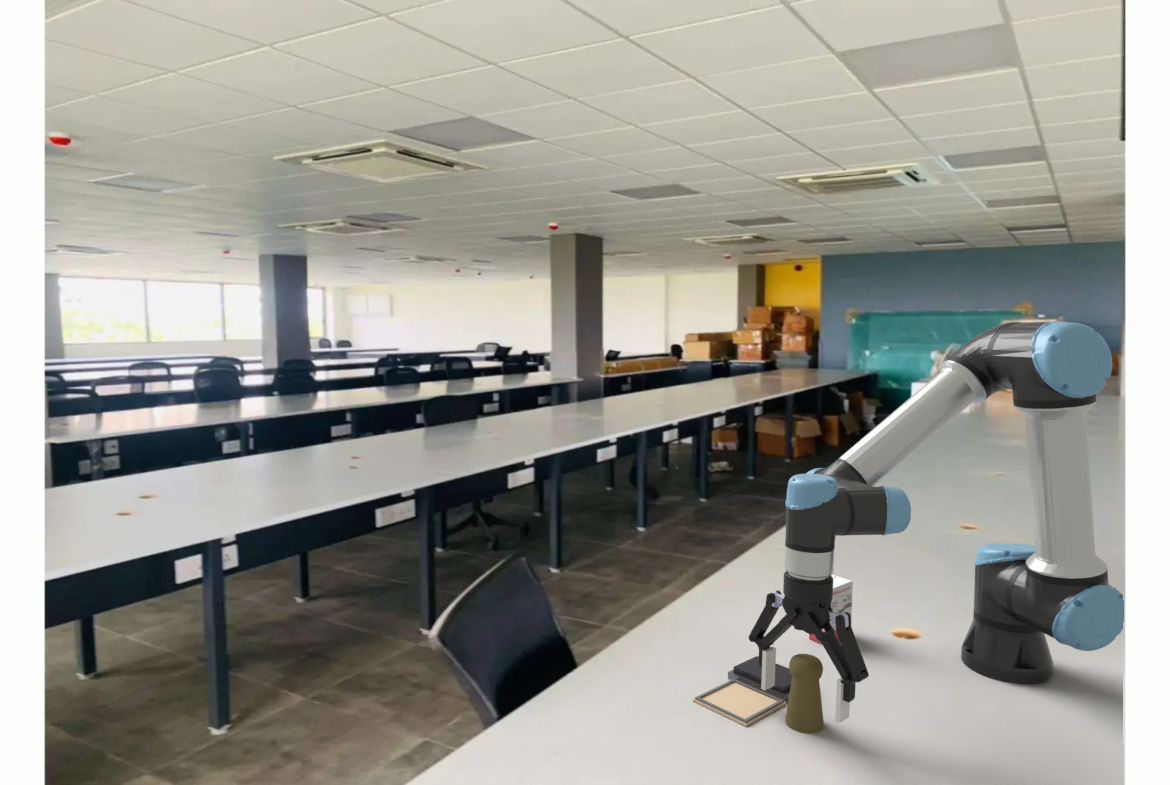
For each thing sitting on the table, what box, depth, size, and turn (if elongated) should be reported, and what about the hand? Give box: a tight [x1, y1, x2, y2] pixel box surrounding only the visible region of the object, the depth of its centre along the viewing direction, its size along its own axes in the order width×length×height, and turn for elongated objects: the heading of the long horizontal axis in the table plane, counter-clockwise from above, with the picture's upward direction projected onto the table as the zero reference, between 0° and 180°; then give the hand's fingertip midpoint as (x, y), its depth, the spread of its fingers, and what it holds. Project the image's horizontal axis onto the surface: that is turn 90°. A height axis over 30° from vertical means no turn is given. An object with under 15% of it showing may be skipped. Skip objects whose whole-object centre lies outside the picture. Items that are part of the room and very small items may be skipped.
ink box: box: [808, 574, 854, 644], centre depth 156 cm, size 9×5×12 cm, turn 129°
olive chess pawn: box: [784, 653, 825, 734], centre depth 122 cm, size 6×6×11 cm
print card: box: [692, 679, 787, 727], centre depth 129 cm, size 11×11×1 cm
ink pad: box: [727, 655, 792, 703], centre depth 136 cm, size 12×8×2 cm
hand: (803, 702), depth 122 cm, fingers open, 13 cm apart
